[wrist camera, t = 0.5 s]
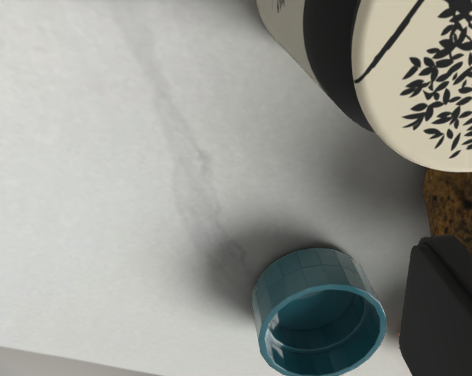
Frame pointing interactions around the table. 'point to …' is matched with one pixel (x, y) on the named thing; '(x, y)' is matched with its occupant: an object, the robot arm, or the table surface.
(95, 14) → the table surface
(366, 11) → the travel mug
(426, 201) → the rock
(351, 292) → the bowl
